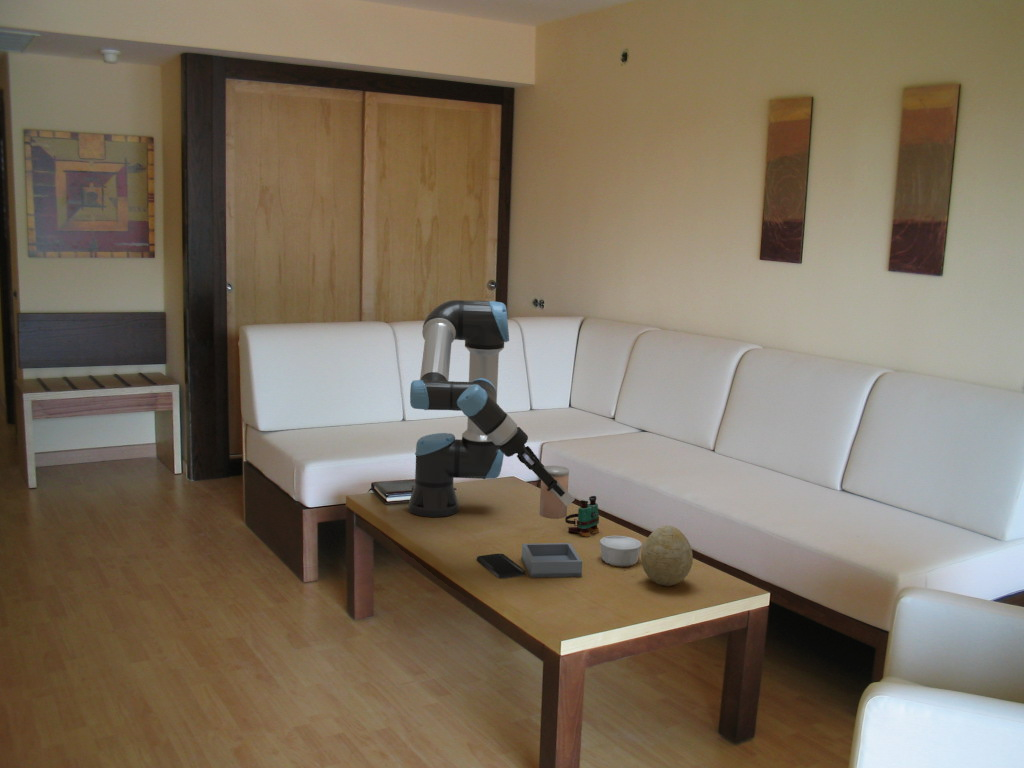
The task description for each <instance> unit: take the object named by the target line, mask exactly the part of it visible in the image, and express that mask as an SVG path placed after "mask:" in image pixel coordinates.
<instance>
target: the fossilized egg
mask: <svg viewBox="0 0 1024 768" xmlns="http://www.w3.org/2000/svg"><path fill="white" fill-rule="evenodd" d="M643 543H644V544H643V545H642V547H641V551H640V552H641V554H640V560H641V561H640V562H641V566H642V569H643V571H644V573H645V574H646V576H647V577H648V578H649V579H650V580H651V581H653V582H654V583H655V584H658V585H661V586H665V587H667V586H674V585H677V584H679V583H681V582H682V581H684V579H685V578H686V577H687V576H688V575H689V574H690V572H691V569H692V566H693V563H694V562H693V560H694V559H693V557H694V554H693V550H692V547H691V543H690V542H689V540H688V538H687V537H686V536H685V534H684V533H683V532H682V531H681V530H680V529H679V528H677V527H675V526H672V525H662V526H659V527H657V528H656V529H654V531H652V532H651V533H650V534H649V536H648V537H647V538H646V539H645V542H643Z"/></svg>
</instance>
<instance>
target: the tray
mask: <svg viewBox="0 0 1024 768" xmlns="http://www.w3.org/2000/svg"><path fill="white" fill-rule="evenodd" d="M521 545H522V546H521V559H522V562H523V564H524V565H525V568H526V570H527V572H528V574H529V576H530V578H531V579H533V578H575V577H576V578H577V577H578V578H579V577H581V578H582V575H583V573H582V572H583V560H582V559H581V557H580V556H579V554H578V552H577V550H576V549H575V548H574V546H573V545H572V543H571V542H553V543H552V542H551V543H550V542H548V543H547V542H543V543H542V542H541V543H536V542H535V543H522V544H521Z"/></svg>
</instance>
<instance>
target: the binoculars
mask: <svg viewBox="0 0 1024 768" xmlns="http://www.w3.org/2000/svg"><path fill="white" fill-rule="evenodd" d="M596 501H597V496H596V495H591V496H589V498H588V500H584V499H581V500H580V504H581V506H580V507H578V510H577V513H572V514H570V515H567V516H566V517H564V519H565V521H564V522H565V523H566V524H569V525H573V526H569V527H567V529H568V532H569V533H580V535H581V536H583V537H587V538H588V537H591V533H593V534H598V533H599V531H600V530H599V527H598V524H599V523H600V516H599V507H598V503H597V502H596ZM576 518H577V519H576ZM570 519H573V520H570Z"/></svg>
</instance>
